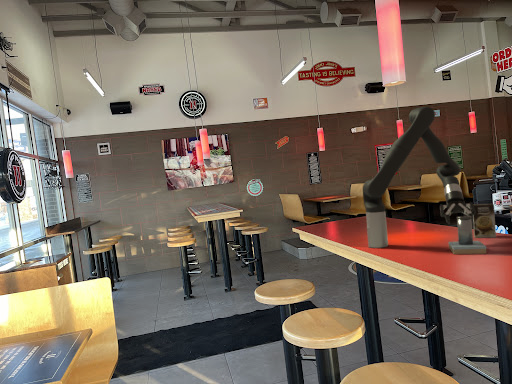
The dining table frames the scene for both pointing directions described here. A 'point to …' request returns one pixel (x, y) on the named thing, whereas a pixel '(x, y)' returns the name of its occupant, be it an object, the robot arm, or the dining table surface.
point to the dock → (467, 248)
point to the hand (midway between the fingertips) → (460, 222)
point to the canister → (465, 230)
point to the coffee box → (484, 221)
